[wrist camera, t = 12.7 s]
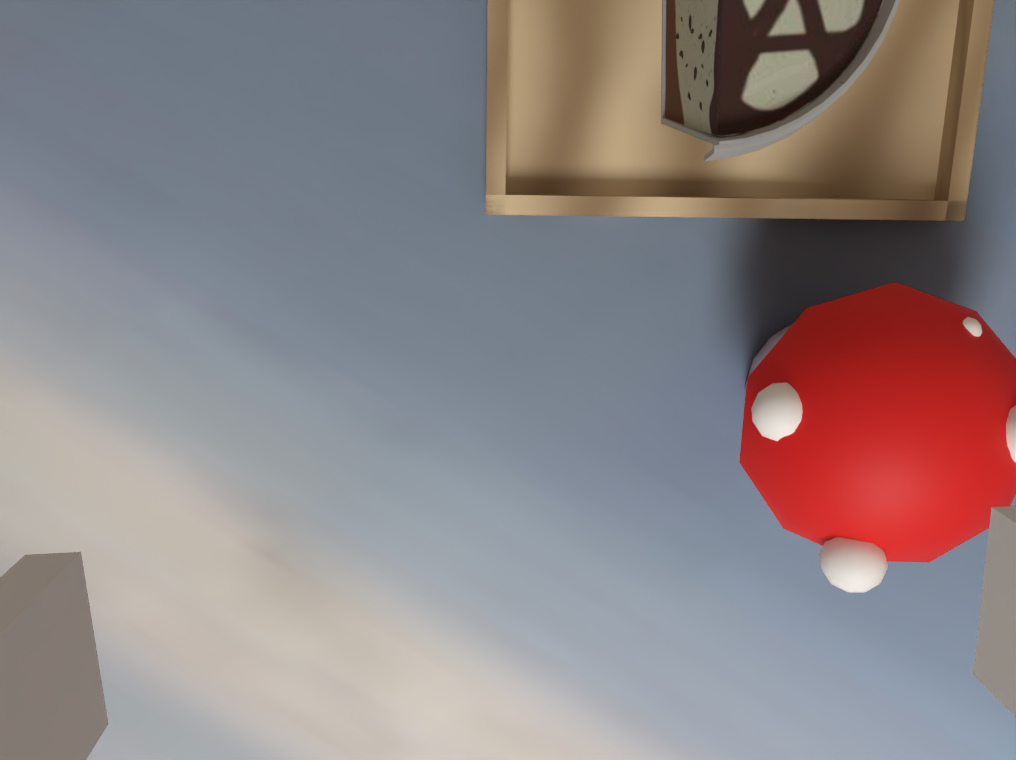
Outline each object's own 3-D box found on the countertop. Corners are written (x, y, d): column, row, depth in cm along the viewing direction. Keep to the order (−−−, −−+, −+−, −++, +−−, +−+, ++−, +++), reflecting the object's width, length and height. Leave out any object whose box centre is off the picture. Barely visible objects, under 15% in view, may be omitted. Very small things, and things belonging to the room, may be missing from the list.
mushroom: (689, 492, 42) (764, 621, 30) (707, 259, 39) (797, 302, 28) (913, 495, 42) (1074, 624, 31) (946, 264, 40) (1135, 309, 28)
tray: (486, 211, 39) (485, 214, 37) (489, -235, 35) (489, -256, 33) (943, 217, 39) (964, 220, 37) (1000, -223, 35) (1027, -243, 33)
